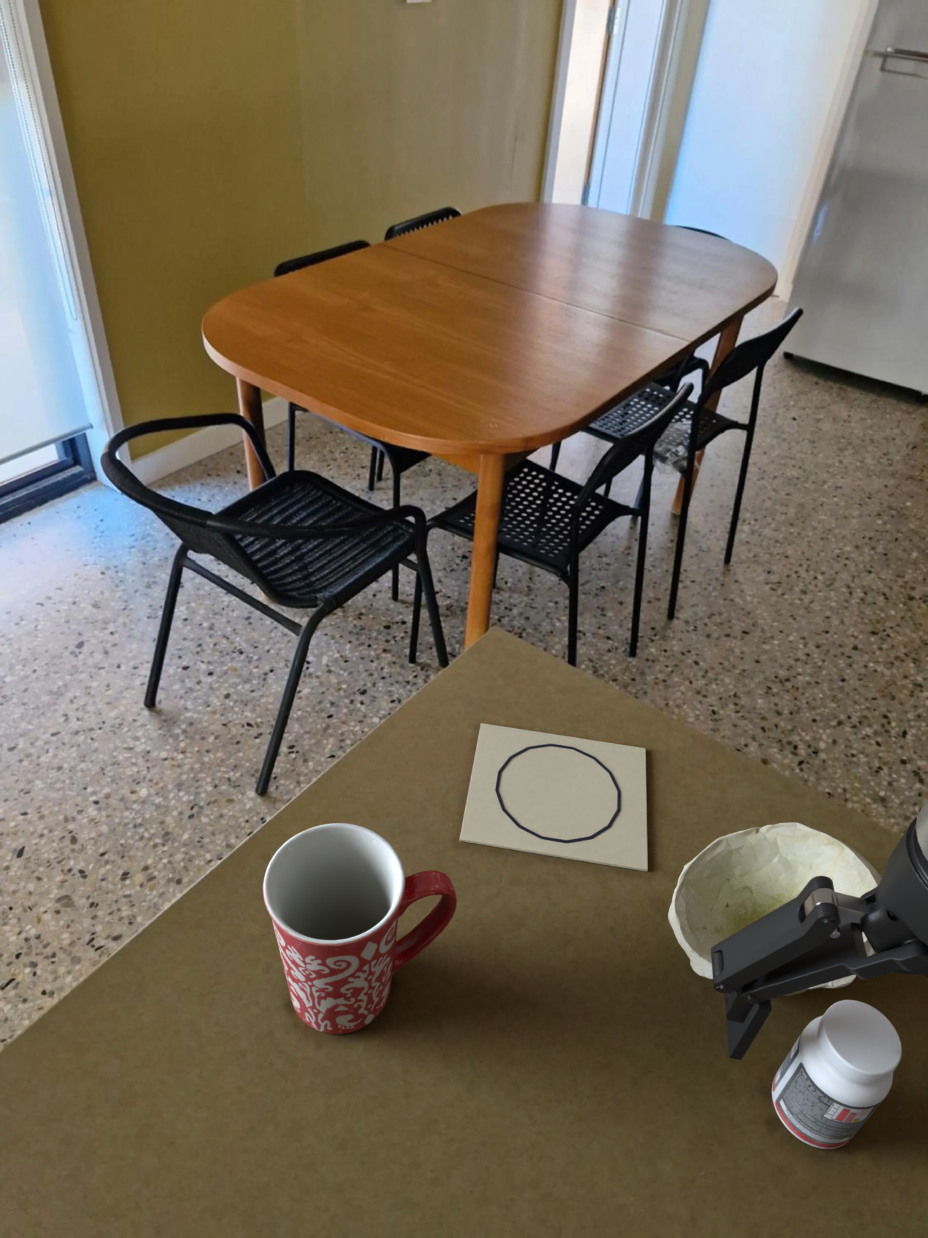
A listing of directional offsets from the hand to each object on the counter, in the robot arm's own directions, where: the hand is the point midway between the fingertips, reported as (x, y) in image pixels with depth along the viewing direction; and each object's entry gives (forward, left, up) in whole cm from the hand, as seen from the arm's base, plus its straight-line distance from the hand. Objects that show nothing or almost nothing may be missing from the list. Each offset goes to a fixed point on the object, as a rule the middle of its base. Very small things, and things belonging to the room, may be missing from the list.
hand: (840, 1058), depth 57 cm
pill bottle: (0, 0, -7) cm, 7 cm away
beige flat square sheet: (+24, +19, -7) cm, 31 cm away
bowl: (+11, +3, -7) cm, 13 cm away
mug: (+3, +32, -7) cm, 33 cm away
